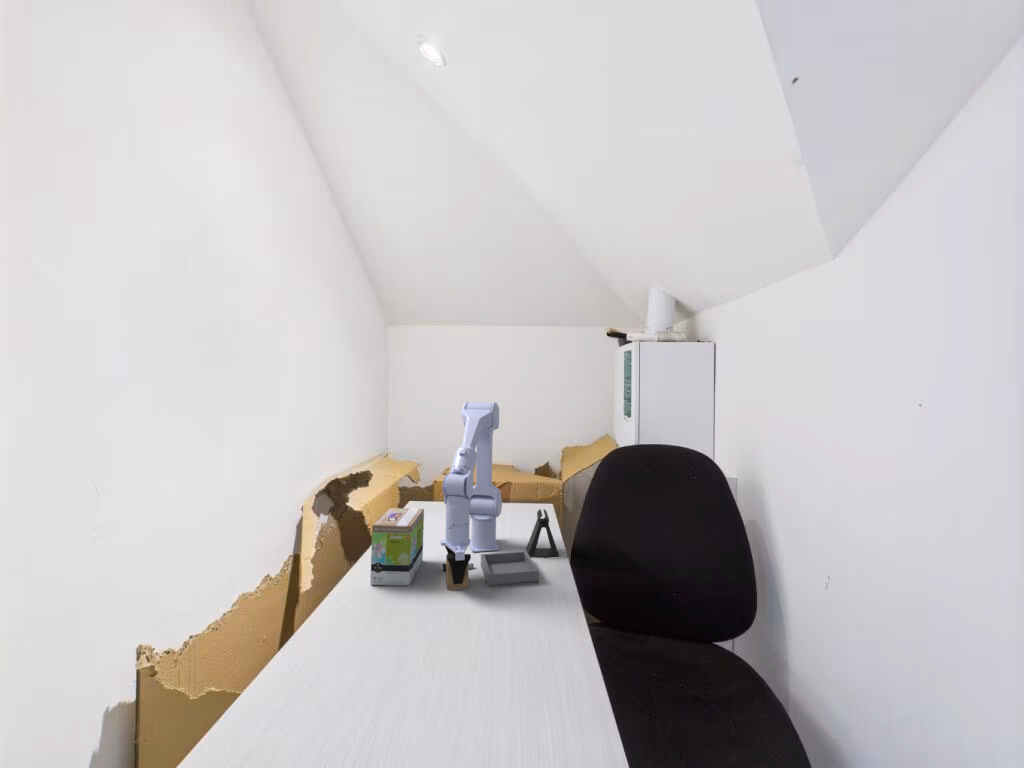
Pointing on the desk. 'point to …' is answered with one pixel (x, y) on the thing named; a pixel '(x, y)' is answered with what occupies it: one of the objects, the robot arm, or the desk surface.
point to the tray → (509, 569)
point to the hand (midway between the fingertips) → (457, 578)
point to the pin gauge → (445, 566)
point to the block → (450, 580)
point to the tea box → (397, 546)
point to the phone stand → (534, 538)
